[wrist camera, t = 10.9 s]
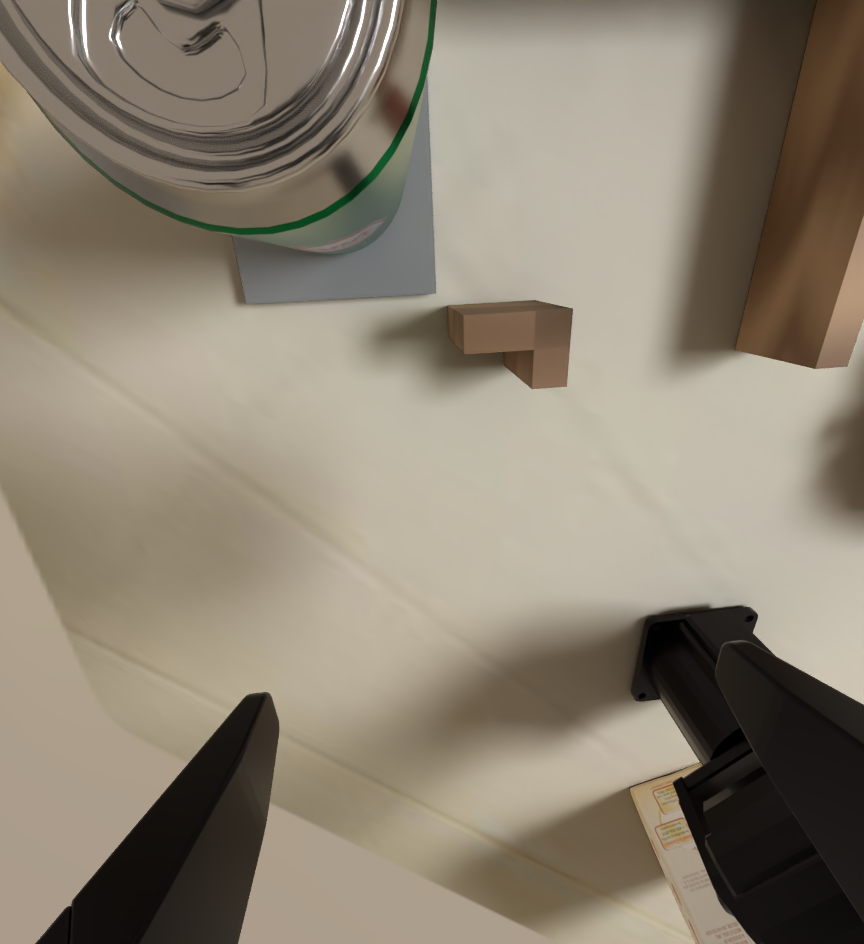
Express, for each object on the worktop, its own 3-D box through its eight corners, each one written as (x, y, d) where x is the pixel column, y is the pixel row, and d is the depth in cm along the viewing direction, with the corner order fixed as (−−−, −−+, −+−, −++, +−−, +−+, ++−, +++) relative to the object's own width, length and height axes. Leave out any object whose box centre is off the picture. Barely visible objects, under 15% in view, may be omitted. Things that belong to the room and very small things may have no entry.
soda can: (247, 238, 15) (-90, 166, 5) (252, 52, 13) (-327, -867, 3) (392, 269, 16) (400, 272, 5) (417, 99, 14) (512, -447, 3)
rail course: (761, 348, 19) (847, 366, 16) (449, 369, 19) (465, 393, 15) (867, -64, 14) (1034, -179, 10) (436, -60, 13) (454, -184, 10)
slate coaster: (434, 292, 17) (435, 293, 17) (250, 302, 17) (246, 304, 16) (424, 58, 14) (426, 50, 14) (201, 63, 14) (193, 55, 13)
